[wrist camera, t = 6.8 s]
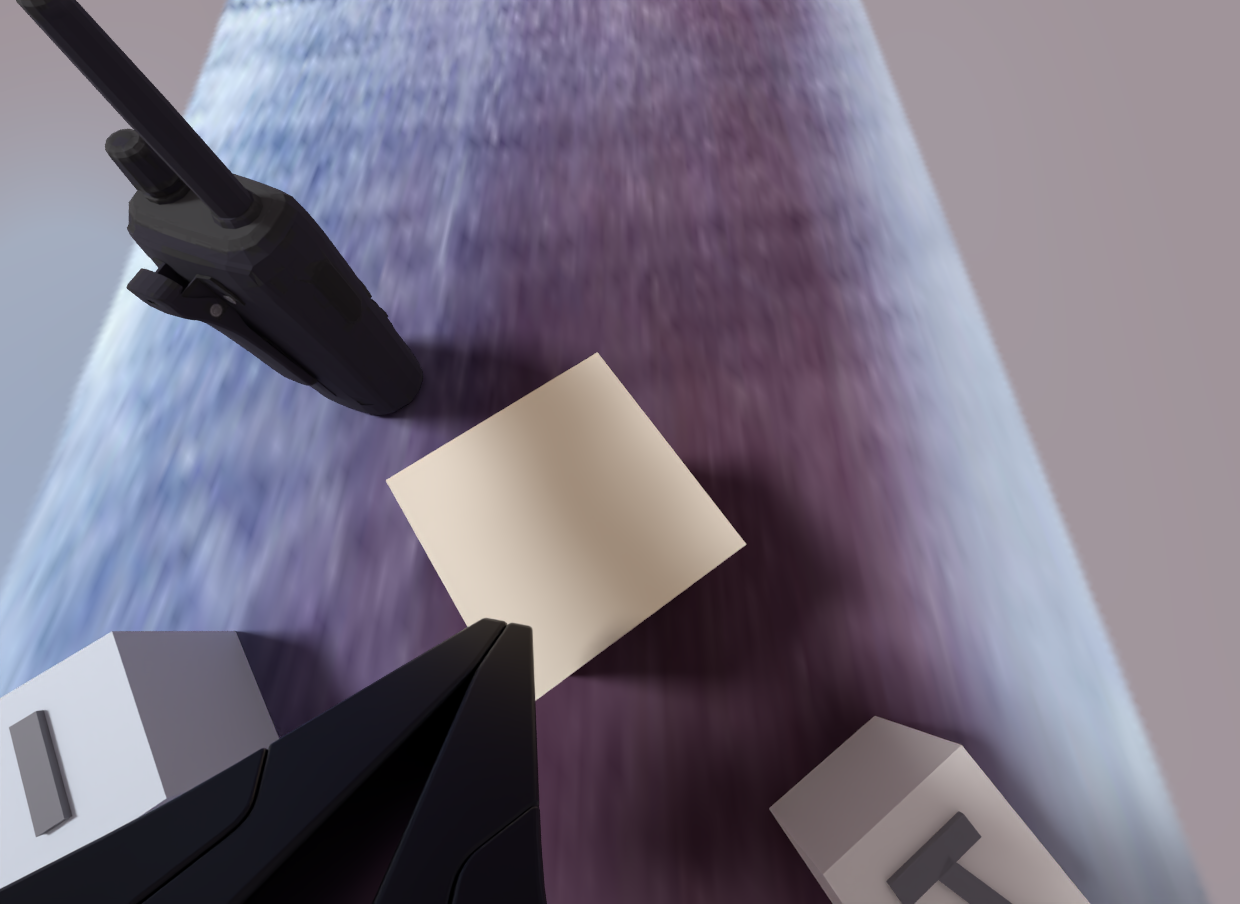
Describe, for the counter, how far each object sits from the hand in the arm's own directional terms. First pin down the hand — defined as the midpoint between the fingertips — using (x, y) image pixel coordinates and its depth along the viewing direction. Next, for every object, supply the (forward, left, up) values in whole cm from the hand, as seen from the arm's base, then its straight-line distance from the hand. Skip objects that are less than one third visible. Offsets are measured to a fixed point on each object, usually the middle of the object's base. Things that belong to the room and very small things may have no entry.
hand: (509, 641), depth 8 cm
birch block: (+2, +2, -11) cm, 12 cm away
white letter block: (+5, -11, -11) cm, 17 cm away
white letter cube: (-13, +5, -11) cm, 18 cm away
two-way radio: (-2, +14, -12) cm, 18 cm away
